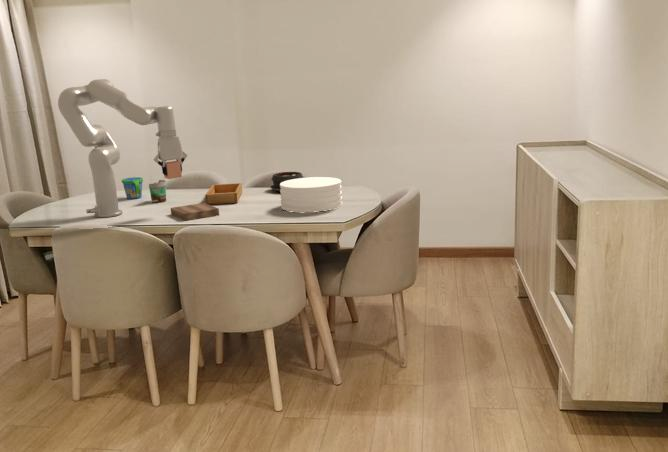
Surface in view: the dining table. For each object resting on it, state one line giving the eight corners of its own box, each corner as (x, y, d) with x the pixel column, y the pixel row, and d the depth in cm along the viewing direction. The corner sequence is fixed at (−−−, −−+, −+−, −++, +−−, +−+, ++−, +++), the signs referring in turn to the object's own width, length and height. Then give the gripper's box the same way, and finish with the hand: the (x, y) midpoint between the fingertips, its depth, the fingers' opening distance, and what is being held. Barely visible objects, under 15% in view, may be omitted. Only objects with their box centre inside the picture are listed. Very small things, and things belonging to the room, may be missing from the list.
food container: (162, 203, 343) (159, 183, 340) (150, 204, 344) (148, 184, 342) (172, 198, 354) (170, 179, 352) (161, 199, 356) (159, 179, 353)
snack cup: (148, 198, 358) (145, 179, 356) (127, 201, 354) (125, 181, 351) (141, 194, 372) (138, 175, 369) (121, 197, 367) (118, 178, 365)
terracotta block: (169, 179, 310) (166, 163, 308) (164, 177, 315) (162, 162, 313) (181, 177, 313) (179, 161, 311) (177, 175, 318) (175, 160, 316)
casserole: (302, 193, 352) (301, 177, 350) (266, 194, 353) (265, 178, 351) (308, 184, 376) (307, 169, 374) (274, 186, 378) (273, 170, 376)
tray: (213, 194, 363) (212, 183, 362) (242, 192, 364) (241, 182, 363) (206, 206, 333) (204, 194, 332) (237, 204, 334) (236, 192, 333)
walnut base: (184, 220, 302) (184, 214, 301) (171, 214, 317) (170, 207, 316) (219, 215, 310) (218, 208, 309) (204, 209, 325) (203, 202, 324)
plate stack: (270, 211, 312) (268, 186, 309) (299, 199, 336) (298, 176, 334) (326, 214, 300) (324, 188, 297) (352, 202, 324) (351, 177, 322)
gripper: (151, 137, 302) (156, 177, 306) (188, 132, 311) (193, 172, 315) (146, 136, 308) (151, 176, 312) (183, 131, 317) (187, 170, 321)
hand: (172, 173), depth 313 cm, fingers closed on terracotta block, 6 cm apart
